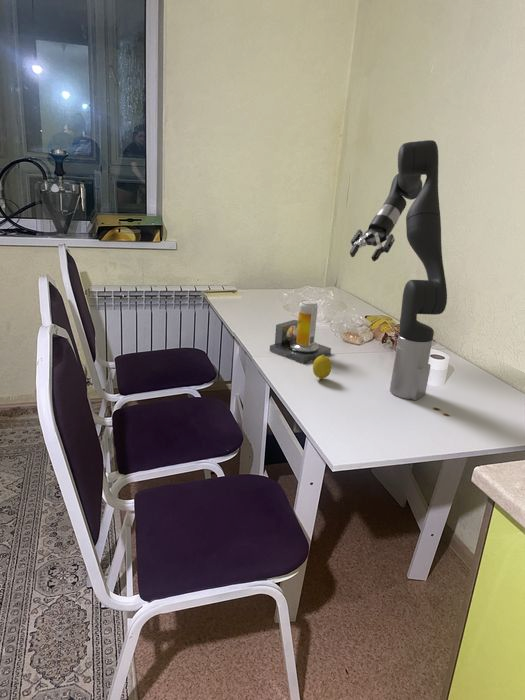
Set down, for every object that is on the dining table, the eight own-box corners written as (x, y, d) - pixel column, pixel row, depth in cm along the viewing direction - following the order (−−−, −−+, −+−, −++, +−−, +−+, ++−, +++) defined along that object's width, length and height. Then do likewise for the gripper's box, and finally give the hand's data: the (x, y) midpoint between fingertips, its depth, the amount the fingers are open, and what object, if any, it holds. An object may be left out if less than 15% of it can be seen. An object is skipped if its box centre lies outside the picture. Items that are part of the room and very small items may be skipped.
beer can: (302, 340, 173) (306, 298, 167) (317, 344, 169) (321, 302, 164) (292, 344, 168) (296, 301, 163) (307, 348, 165) (311, 305, 159)
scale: (330, 353, 171) (333, 328, 168) (303, 363, 161) (305, 337, 158) (297, 341, 181) (299, 318, 177) (269, 350, 170) (271, 326, 167)
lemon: (329, 384, 147) (332, 359, 144) (310, 381, 148) (313, 356, 145) (330, 377, 152) (333, 352, 149) (312, 374, 153) (315, 350, 150)
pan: (324, 348, 169) (324, 345, 169) (306, 354, 162) (306, 351, 162) (302, 340, 176) (302, 337, 175) (283, 346, 169) (283, 343, 168)
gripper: (363, 211, 171) (340, 247, 167) (400, 215, 162) (377, 253, 158) (370, 226, 177) (348, 261, 173) (405, 231, 168) (383, 268, 164)
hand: (362, 257), depth 166 cm, fingers open, 8 cm apart
